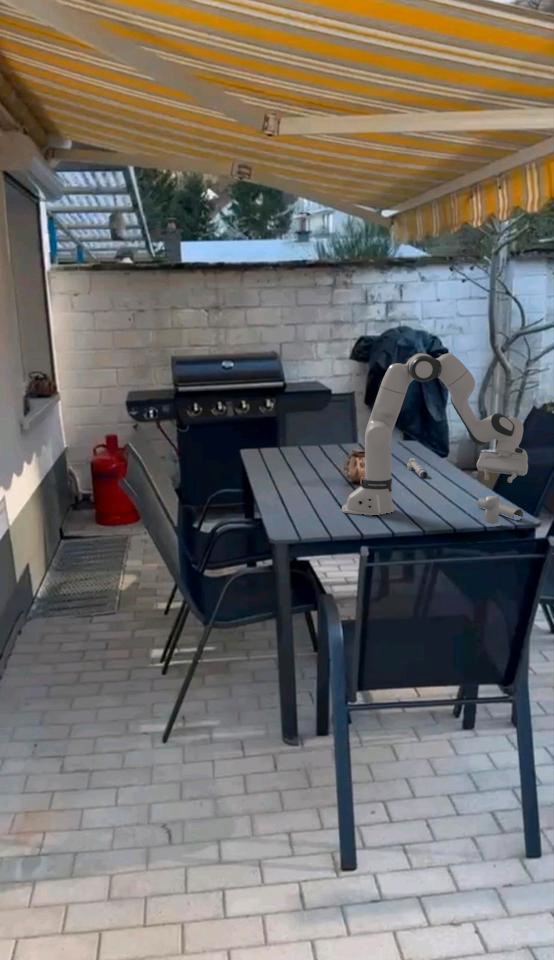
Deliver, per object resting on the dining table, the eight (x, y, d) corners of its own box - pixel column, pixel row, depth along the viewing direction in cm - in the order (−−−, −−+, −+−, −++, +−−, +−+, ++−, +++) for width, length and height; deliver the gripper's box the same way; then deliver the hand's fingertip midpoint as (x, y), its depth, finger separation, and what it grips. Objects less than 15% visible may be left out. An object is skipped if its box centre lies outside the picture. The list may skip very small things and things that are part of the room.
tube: (473, 499, 337) (511, 512, 315) (483, 494, 339) (522, 506, 316) (476, 510, 339) (514, 523, 317) (485, 505, 341) (525, 518, 318)
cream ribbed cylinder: (419, 471, 395) (406, 455, 418) (418, 483, 398) (405, 467, 421) (429, 471, 396) (416, 455, 419) (428, 483, 398) (415, 466, 421)
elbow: (486, 521, 315) (487, 495, 313) (500, 523, 312) (501, 496, 310) (480, 526, 309) (481, 499, 306) (494, 528, 306) (495, 501, 304)
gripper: (479, 446, 325) (471, 473, 319) (529, 450, 315) (521, 479, 309) (482, 455, 330) (474, 482, 324) (531, 459, 320) (523, 487, 314)
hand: (497, 480), depth 316 cm, fingers open, 8 cm apart
